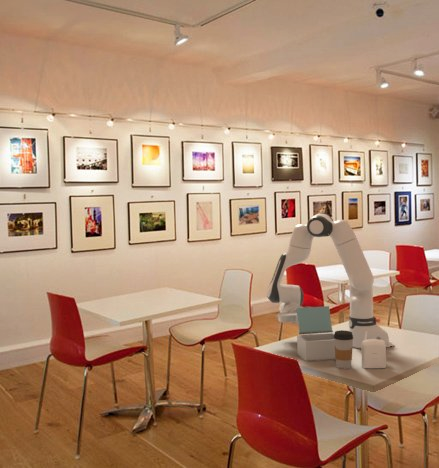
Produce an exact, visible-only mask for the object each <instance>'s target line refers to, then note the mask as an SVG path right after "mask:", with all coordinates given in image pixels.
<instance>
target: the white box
mask: <svg viewBox="0 0 439 468" xmlns="http://www.w3.org/2000/svg"><path fill="white" fill-rule="evenodd" d="M334 334H335V332H331V333H315V334H300V335H299V334H297V335H296V336H297V339H296V340H297V341H296V342H297V343H296V344H297V346H296V347H297V356H299V357H300V358H301V359H302V358H303V359H302V360H303V361H305V362H306V361H308V362H316V361H334V360H335V361H336V359H335V346H334V345H335V343H334Z"/></svg>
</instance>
